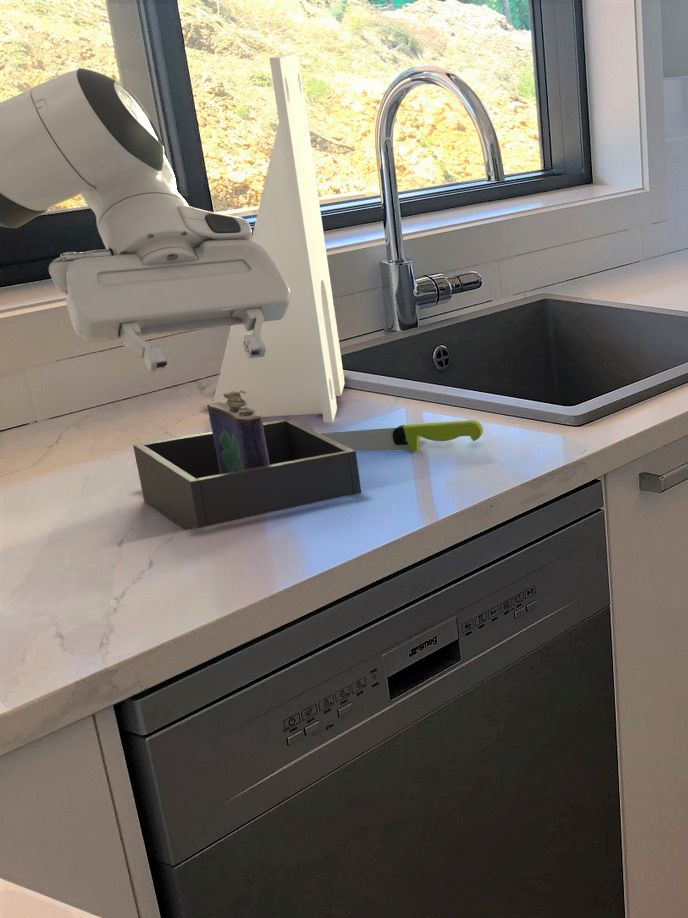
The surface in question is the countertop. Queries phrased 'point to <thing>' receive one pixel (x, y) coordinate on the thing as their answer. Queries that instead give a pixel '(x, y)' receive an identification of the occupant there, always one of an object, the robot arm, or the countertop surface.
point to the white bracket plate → (290, 278)
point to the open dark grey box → (244, 476)
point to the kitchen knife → (406, 435)
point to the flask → (237, 434)
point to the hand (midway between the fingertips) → (209, 360)
